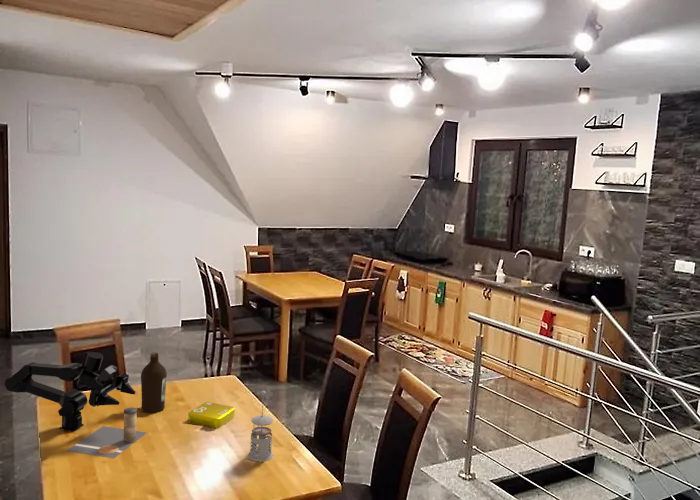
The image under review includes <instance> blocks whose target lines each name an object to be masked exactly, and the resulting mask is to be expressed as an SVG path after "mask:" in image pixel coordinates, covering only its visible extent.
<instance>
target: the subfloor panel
mask: <svg viewBox="0 0 700 500" xmlns="http://www.w3.org/2000/svg"><path fill="white" fill-rule="evenodd" d="M145 435H147V432H145V431H140V430H139V431H137V430H136V441H135V442H132V443H125V442H124V428H120V427H119V428H118V427H112V426H111V427H110V426H105V425H103V426H101V427H99V428H98V429H96V430H95V431H93V432H92V433H91V434H89V435H87V436H86V437H85V438H83V439H81V440H80V441H77V443H75V444H73V445H72V446H71V447H69V448H68V449H66V450H65V451H66V452H71V453H79V454H84V455H91V456H97V457H104V458H109V459H110V458H111V459H115V458H117V457H118V456H119V455H120V454H121V453H123V452H124V451H126V450H127V449H128V448H130V447H131V446H132V445H133V444H135V443H136V442H137V441H139V440H140V439H142V437H144V436H145Z"/></svg>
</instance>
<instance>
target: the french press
mask: <svg viewBox="0 0 700 500" xmlns="http://www.w3.org/2000/svg"><path fill="white" fill-rule="evenodd" d="M260 395H262V399H264V396H265V395H267V391H266V390H262V391H260ZM261 411H262V412H261V414H258V415H256V416H254V417H252V418H251V420H250V421H251V423H252V424H253V425H254V426H256V427H253V428H252V430H251V433H250V448H249V452H248V453H247V455H248V456H247V459H249V461H252V462H256V461H259V462H258V463H260V462H261V463H262V461H263V463H264V461H265V462H268V461H271V460H272V459H273V458H274V456H273V455H274V453H273V451H272V443H273V434H272V429H271V428H270V427H267V426H269V425H271V424H273V422H274V418H272V417H271V416H269V415H266V414H264V405H262V410H261ZM272 457H273V458H272ZM271 458H272V459H271ZM267 460H268V461H267Z"/></svg>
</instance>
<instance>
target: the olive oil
mask: <svg viewBox="0 0 700 500" xmlns="http://www.w3.org/2000/svg"><path fill="white" fill-rule="evenodd" d="M149 357H150V358H149V360H150V361H149V362H148V363H147V365H145V366H144V367H143V369H142V370H141V373H140V384H141V385H140V386H141V388H140V390H141V391H140V393H141V411H142V412H144V413H148V414H149V413H150V414H154V413H159V412H162V411H163V410H164V409H165V407H166V406H165V404H166V402H165V401H166V391H167V390H166V389H167V380H168V379H167V377H168V375H167V374H168V373H167V370H166V368H165V367H164V366H163V364H162V363H161V362H160V361H159V357H160V356H159V352H156V351H153V352H151V353H150V356H149Z"/></svg>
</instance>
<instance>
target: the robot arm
mask: <svg viewBox="0 0 700 500" xmlns="http://www.w3.org/2000/svg"><path fill="white" fill-rule="evenodd" d="M103 359H104V355H103V354H102V353H101V352H95V351H87V352H84V356H83V360H82V362H81V363H79V362H73V363H72V362H71V363H66V364H61V365H60V364H49V363H39V362H29V363H27V364H25V365H23V366H22V367H21V368H20V369H19V370H18V371H17V372H15V373H14V374H13V375H11V376H9V377H8V378H6V379H5V380H4V387H5V390H7V391H8V392H9V393H10V392H11V393H28V394H30V395H33V396H36V397H39V398H42V399H46V400H49V401H50V402H54V403H57V404H59V406H60V407H61V408H59V409H58V410H57V413H58V415H59V417H61V426H60V427H59V428H58V429H59V430H61V431H69V432H75V431H77V430H78V429H80V428H81V427H83V426H84V423H83V417H82V410H83V409H84V408H85V407H86V405H87V404H89V406H91V407H92V408H93V407H94V408H95V407H100V406H119V405H120V401H119V400H118V399H116V398H114V397H112V396H110V395H109V394H110V393H111V392H112V391H114V390H117V391H120V393H124V394H129V395H136V391H135V389H133V387H132V386H131V384H130V383H129V378H130V374H128V373H126V372H124V373H122V374H121V373H120V375H118V376H116V377H115V378H116V379H115V382H113V381H114V376H115V374H117V370H118V367H117V366H116V365H113V364H110V365H108V366H107V367H106V368H104V369H103V370H102V371H101V373H100V374H98V373H96V372H98V371H100V368H101V366H102V362H103ZM34 376H43V377H56V378H58V379H59V380H60V381H65V382H72V381H75V380H77V379H78V380H77V381H76V387H77V388H78V389H81V388H83V387H87V388H89V389H91V390H90V393H89V396H88V397H87V395H86V394H85V392H83V391H82V390H78V389H76V388H72V389H70V390H68V391H64V390H61V389H58V388H55V387H52V386H49V385H47V384H44V383H41V382H38V381H35V380H34V378H32V377H34Z"/></svg>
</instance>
